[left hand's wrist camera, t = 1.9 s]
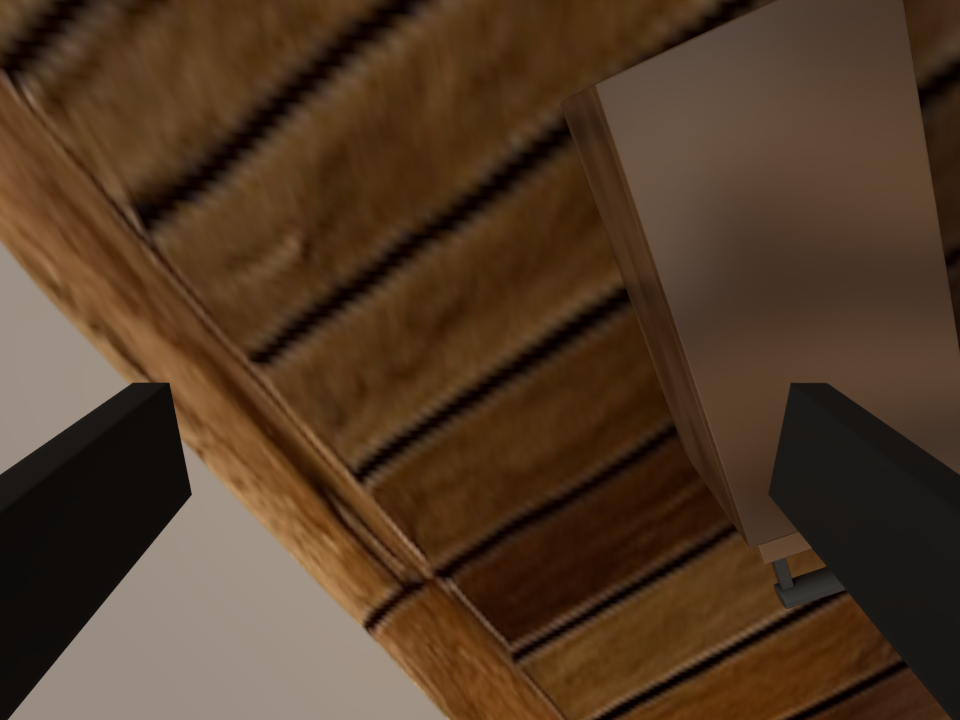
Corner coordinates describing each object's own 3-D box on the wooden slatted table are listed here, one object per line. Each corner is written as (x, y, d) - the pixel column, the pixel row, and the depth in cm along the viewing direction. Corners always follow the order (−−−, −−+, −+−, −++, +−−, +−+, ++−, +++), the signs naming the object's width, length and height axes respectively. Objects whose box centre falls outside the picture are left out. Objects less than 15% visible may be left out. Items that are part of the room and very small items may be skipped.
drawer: (881, 511, 34) (971, 592, 28) (736, 561, 35) (792, 649, 29) (781, 82, 26) (875, 62, 20) (598, 164, 28) (635, 168, 21)
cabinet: (856, 390, 33) (979, 468, 25) (685, 454, 34) (749, 548, 26) (766, 5, 26) (895, -57, 18) (559, 102, 27) (594, 84, 19)
